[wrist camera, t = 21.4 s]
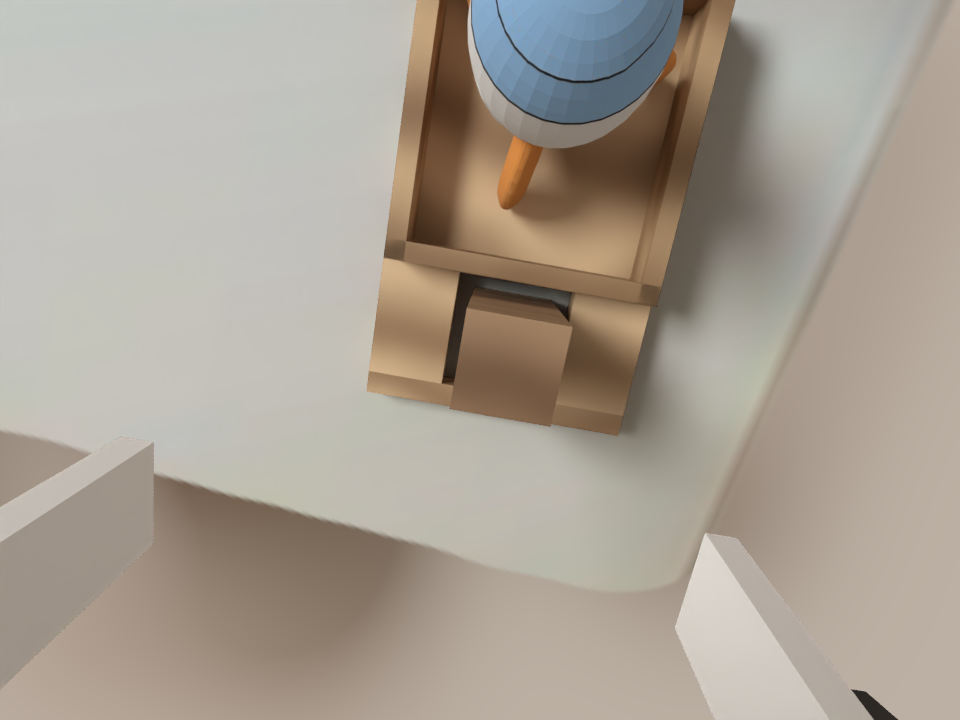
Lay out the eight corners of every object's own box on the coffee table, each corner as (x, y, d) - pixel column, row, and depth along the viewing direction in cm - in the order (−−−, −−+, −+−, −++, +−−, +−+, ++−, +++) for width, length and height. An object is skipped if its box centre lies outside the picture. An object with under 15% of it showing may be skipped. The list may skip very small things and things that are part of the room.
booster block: (475, 286, 31) (466, 308, 22) (551, 300, 31) (572, 327, 22) (462, 360, 32) (449, 408, 23) (535, 373, 32) (550, 426, 23)
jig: (428, -43, 27) (416, -90, 23) (717, 10, 27) (754, -27, 23) (372, 383, 32) (355, 404, 28) (612, 426, 32) (628, 453, 29)
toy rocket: (669, 37, 27) (881, -27, 13) (573, 231, 31) (661, 330, 18) (484, -64, 25) (515, -260, 11) (407, 158, 29) (363, 208, 16)
